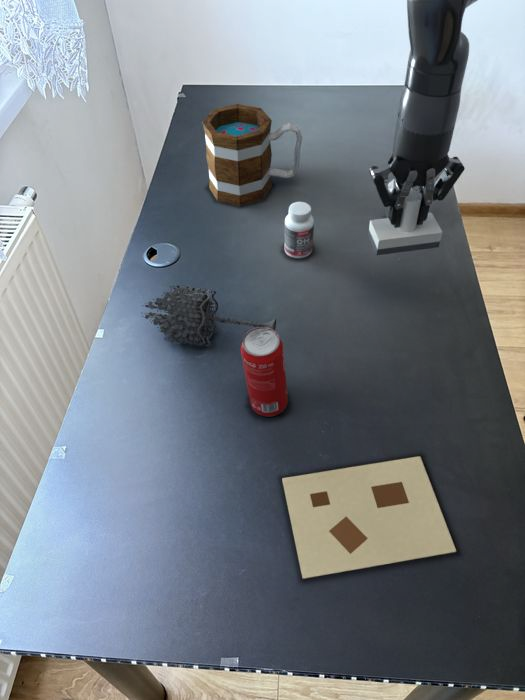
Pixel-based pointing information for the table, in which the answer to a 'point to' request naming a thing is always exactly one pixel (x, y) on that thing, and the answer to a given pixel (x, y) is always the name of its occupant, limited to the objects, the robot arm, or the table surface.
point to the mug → (243, 153)
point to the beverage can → (265, 371)
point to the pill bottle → (299, 230)
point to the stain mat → (365, 517)
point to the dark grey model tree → (191, 315)
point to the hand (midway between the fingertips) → (406, 222)
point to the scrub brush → (405, 230)
